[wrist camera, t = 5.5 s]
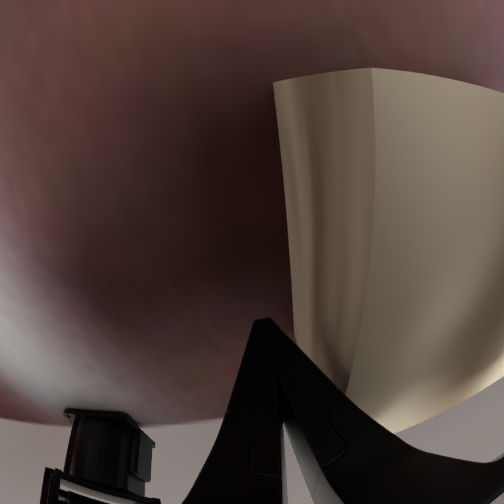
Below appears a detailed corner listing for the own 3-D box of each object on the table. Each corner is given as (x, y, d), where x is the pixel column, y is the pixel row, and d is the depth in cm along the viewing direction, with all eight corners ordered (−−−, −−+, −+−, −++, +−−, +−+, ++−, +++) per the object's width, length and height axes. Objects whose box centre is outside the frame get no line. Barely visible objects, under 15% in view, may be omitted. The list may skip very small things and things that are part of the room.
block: (294, 334, 15) (328, 454, 9) (272, 82, 9) (371, 68, 3) (444, 294, 15) (504, 375, 9) (474, 95, 9) (594, 134, 3)
